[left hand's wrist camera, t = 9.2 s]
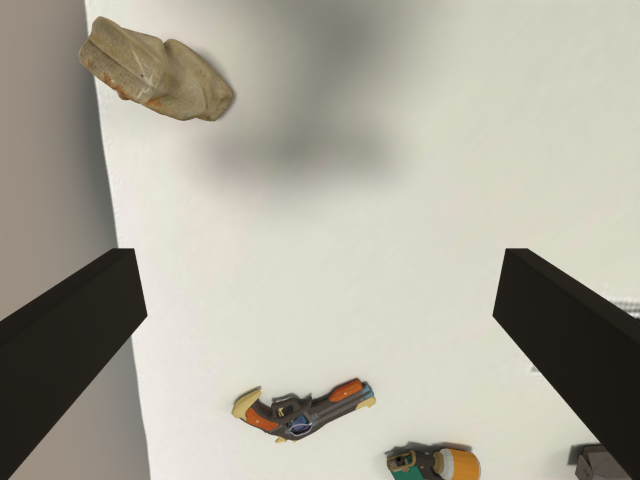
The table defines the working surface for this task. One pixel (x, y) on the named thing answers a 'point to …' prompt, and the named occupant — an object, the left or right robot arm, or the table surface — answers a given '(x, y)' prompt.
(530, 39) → the table surface
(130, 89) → the sculpture
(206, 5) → the table surface
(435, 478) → the spray gun
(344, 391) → the toy gun
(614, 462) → the toy
